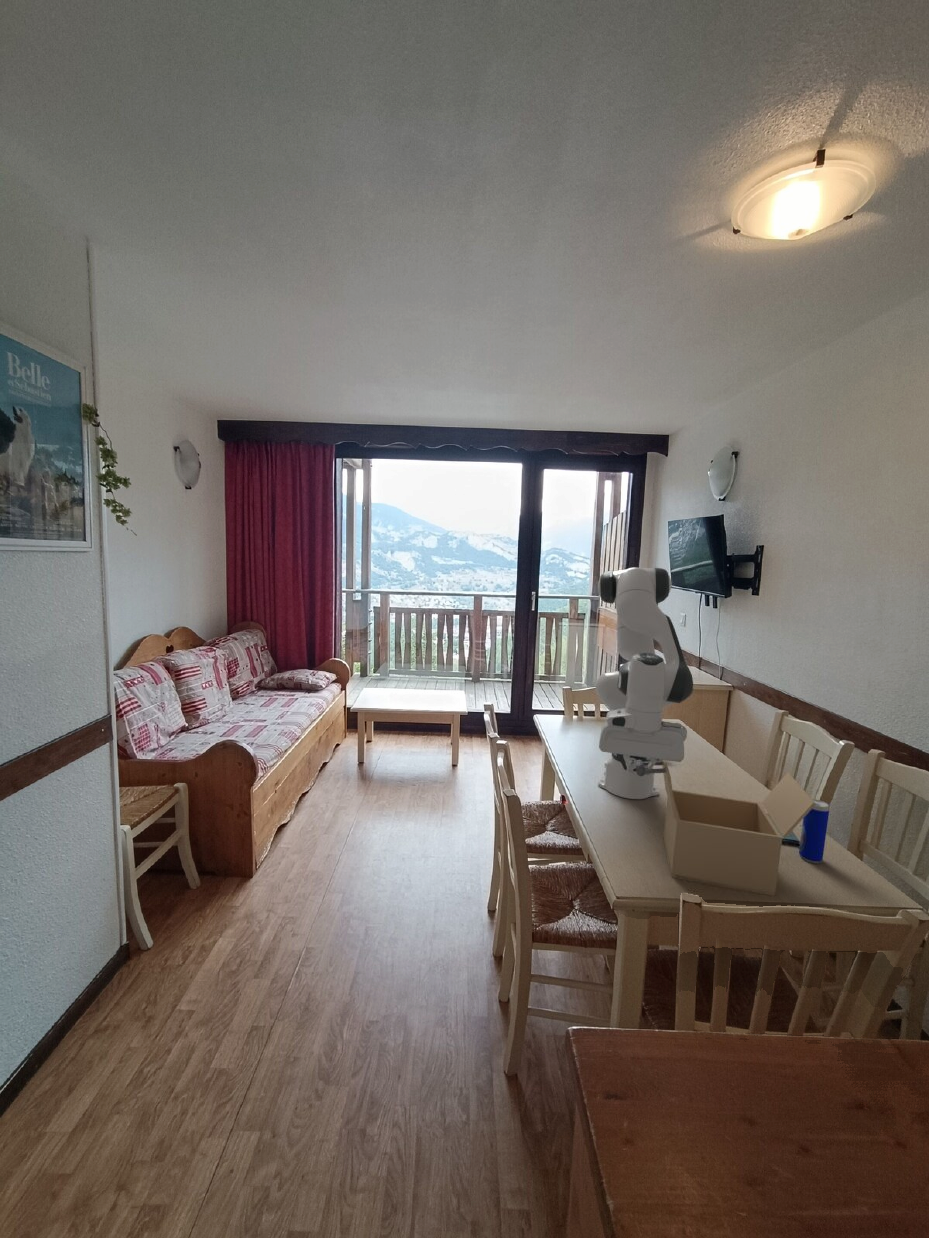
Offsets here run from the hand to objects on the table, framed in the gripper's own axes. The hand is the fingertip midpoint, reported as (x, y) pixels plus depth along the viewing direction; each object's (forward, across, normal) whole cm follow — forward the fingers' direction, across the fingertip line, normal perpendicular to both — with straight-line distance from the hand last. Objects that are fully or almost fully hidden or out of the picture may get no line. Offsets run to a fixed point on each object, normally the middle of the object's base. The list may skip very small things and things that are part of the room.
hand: (638, 772), depth 134 cm
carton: (+21, -20, 0) cm, 29 cm away
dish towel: (+22, -33, -26) cm, 47 cm away
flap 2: (+2, -33, 0) cm, 34 cm away
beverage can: (+21, -45, -12) cm, 51 cm away
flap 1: (+2, -7, 0) cm, 8 cm away
